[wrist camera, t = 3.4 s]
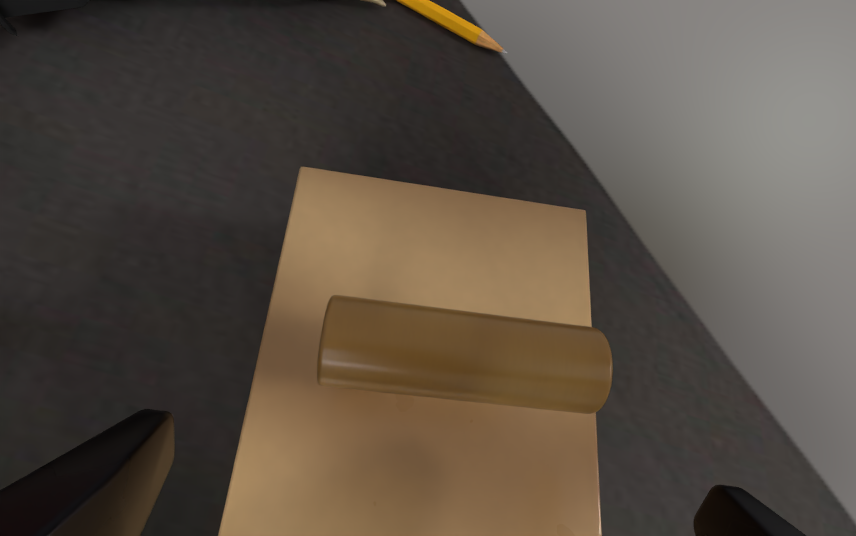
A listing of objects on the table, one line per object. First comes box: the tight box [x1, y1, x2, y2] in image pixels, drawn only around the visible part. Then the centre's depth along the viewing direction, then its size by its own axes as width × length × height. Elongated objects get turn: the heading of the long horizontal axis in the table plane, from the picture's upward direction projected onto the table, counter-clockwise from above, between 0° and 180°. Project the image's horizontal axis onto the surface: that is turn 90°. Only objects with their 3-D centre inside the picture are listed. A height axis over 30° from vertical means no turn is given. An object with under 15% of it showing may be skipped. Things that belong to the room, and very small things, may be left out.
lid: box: [218, 167, 613, 536], centre depth 10 cm, size 12×9×5 cm
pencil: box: [396, 0, 508, 54], centre depth 24 cm, size 1×8×1 cm
